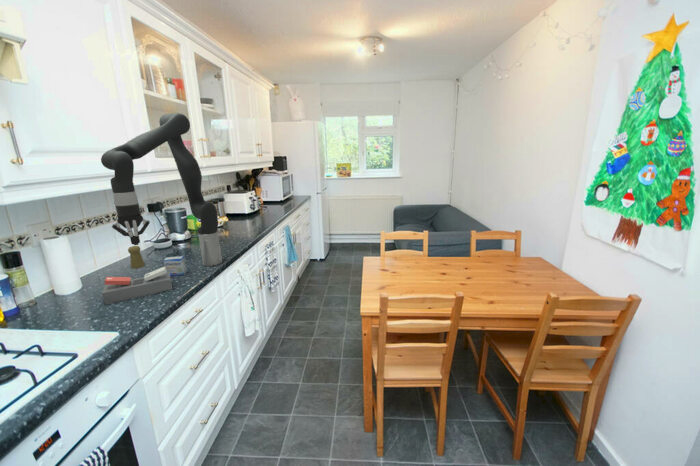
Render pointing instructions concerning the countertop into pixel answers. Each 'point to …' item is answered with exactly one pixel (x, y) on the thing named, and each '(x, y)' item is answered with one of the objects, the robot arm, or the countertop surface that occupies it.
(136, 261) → the cork
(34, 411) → the countertop surface
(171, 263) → the medicine box
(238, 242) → the countertop surface
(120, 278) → the block
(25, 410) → the countertop surface
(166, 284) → the rocker switch panel
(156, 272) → the white rocker
